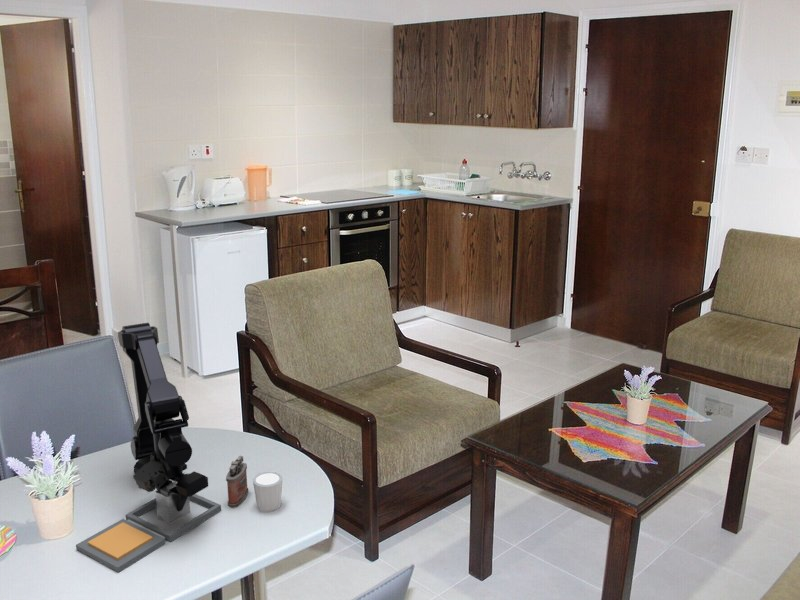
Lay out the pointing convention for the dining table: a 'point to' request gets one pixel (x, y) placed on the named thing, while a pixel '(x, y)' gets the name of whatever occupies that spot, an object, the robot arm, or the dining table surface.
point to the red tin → (237, 482)
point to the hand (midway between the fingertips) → (173, 507)
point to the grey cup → (268, 490)
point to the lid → (121, 544)
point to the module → (169, 505)
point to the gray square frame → (171, 536)
